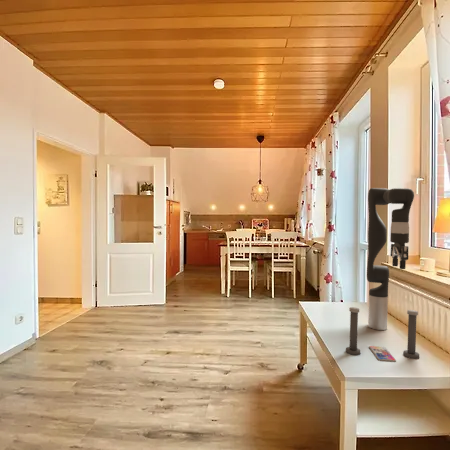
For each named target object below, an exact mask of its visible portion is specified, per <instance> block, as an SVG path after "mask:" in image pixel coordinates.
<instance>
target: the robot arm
mask: <svg viewBox="0 0 450 450" xmlns="http://www.w3.org/2000/svg"><path fill="white" fill-rule="evenodd" d="M414 199H415V192H414V191H413V189H412V188H406V187H404V188H400V187H397V188H396V187H395V188H394V187H393V188H390V189H389V188H385V187H370V188H369V190H368V193H367V205H368V208H367V209H368V224H367V225H368V230H367V261H366V262H367V266H366V280H367V282H368V283H373V284H374V283H375V284H376V283H377V284H380V285H379V286H377V287H372V288H370V289H369V290H368V320H367V322H368V324H367V327H368V328H370V329H373V330H378V331H385V330H388V308H389V307H388V306H389V305H388V304H389V303H388V302H389V280H390V269H389V266H387V265H379V264H378V265H377V264H375V260H376V258H377V257H378V254H379V253H380V252H381V251H382V249H383V248H384V247H385V245H386V243H387V239H388V238H387V236H388V230H387V227H386V224H385V222H384V221H383V219H381V217H380V215H379V214H378V211H377V206H386V205H389V204H390V205H391V204H392V205H394V204H395V205H402V206H401V207H400V208H396V209H393V210H392V211H391V224H390V235H389V236H390V239H389V240H390V241H389V242H390V243H391V244H390V257H391V259H392V263H391V265H392V267H398V266H399V270H406V264H407V263H406V262H407V261H408V260H409V246H408V245H406V244H409V242H410V217H409V216H410V212H411V208H412V205H413V202H414Z"/></svg>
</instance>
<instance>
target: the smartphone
mask: <svg viewBox="0 0 450 450" xmlns="http://www.w3.org/2000/svg"><path fill="white" fill-rule="evenodd" d="M368 349H369V350H370V351H371V353H372V355H374V357H375V358H376V360H377V361H379V360H380V362H391V363H396V362H397V360H396V359H395V357H394V356H393V354H391V353H390V351H389V350H388V349H387V348H386V347H385V346H375V345H370V346H368Z"/></svg>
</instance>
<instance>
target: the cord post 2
mask: <svg viewBox="0 0 450 450" xmlns="http://www.w3.org/2000/svg"><path fill="white" fill-rule="evenodd" d="M406 313H407V315H408V320H407V321H408V322H407V350H406V349H405V350H403V351H402V352H403V354H402V355H403V356H404V357H406V358H409V359H415V360H416V359H417V360H418V359H420V353H419V352H417V351H416V344H417V317H418V315H419V311H417V310H414V309H407V311H406Z"/></svg>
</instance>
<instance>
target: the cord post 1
mask: <svg viewBox="0 0 450 450" xmlns="http://www.w3.org/2000/svg"><path fill="white" fill-rule="evenodd" d="M348 308H349V309H348V310H349V312H350V315H349V316H350V317H349V318H350V319H349V325H350V326H349V346H347V347H345V353H346V354H348V355H351V356H359V355H361V349H360V348H358V326H359V325H358V321H359V313H360V308H358V307H353V306H352V307H348Z"/></svg>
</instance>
